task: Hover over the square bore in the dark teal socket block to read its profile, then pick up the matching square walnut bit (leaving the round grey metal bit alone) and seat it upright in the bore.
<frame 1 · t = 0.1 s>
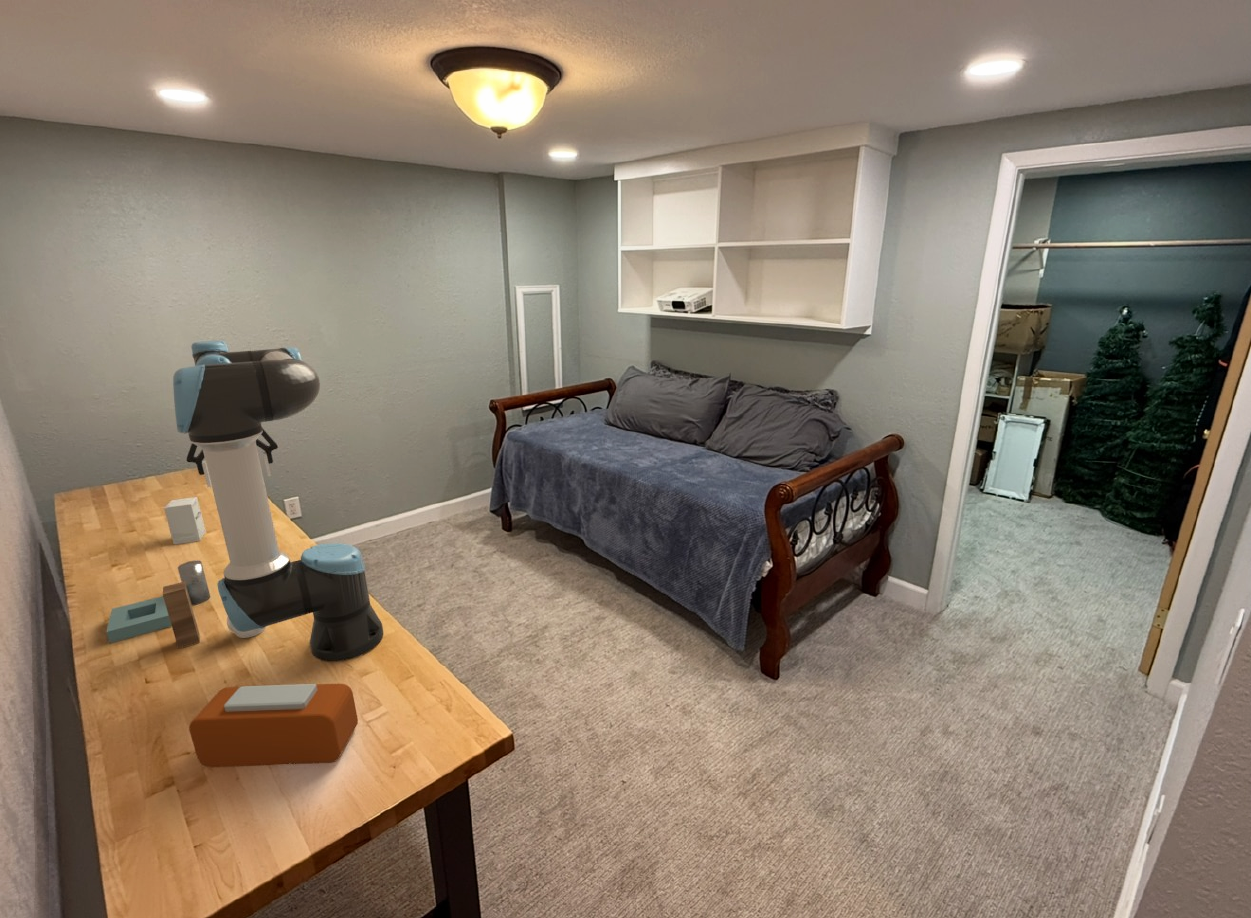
hand: (240, 480, 158), 28 cm above the table, fingers open, 13 cm apart
square bit: (189, 641, 136), on the table
supplement box: (190, 539, 190), on the table
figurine: (251, 632, 140), on the table
block with grey pad: (283, 748, 106), on the table
socket block: (144, 622, 144), on the table
round bit: (198, 599, 154), on the table
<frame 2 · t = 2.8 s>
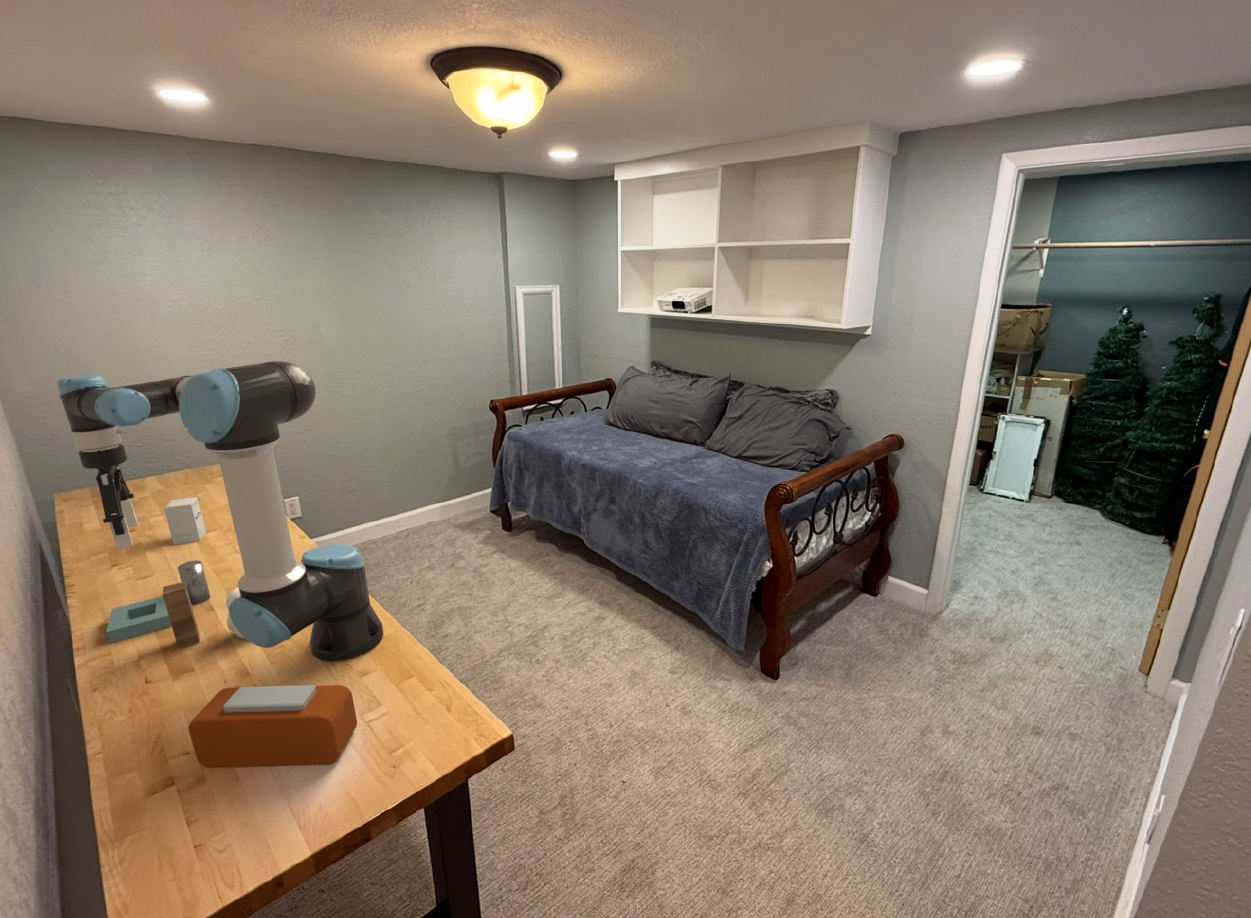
hand: (128, 536, 135), 24 cm above the table, fingers open, 13 cm apart
nothing on the table moved.
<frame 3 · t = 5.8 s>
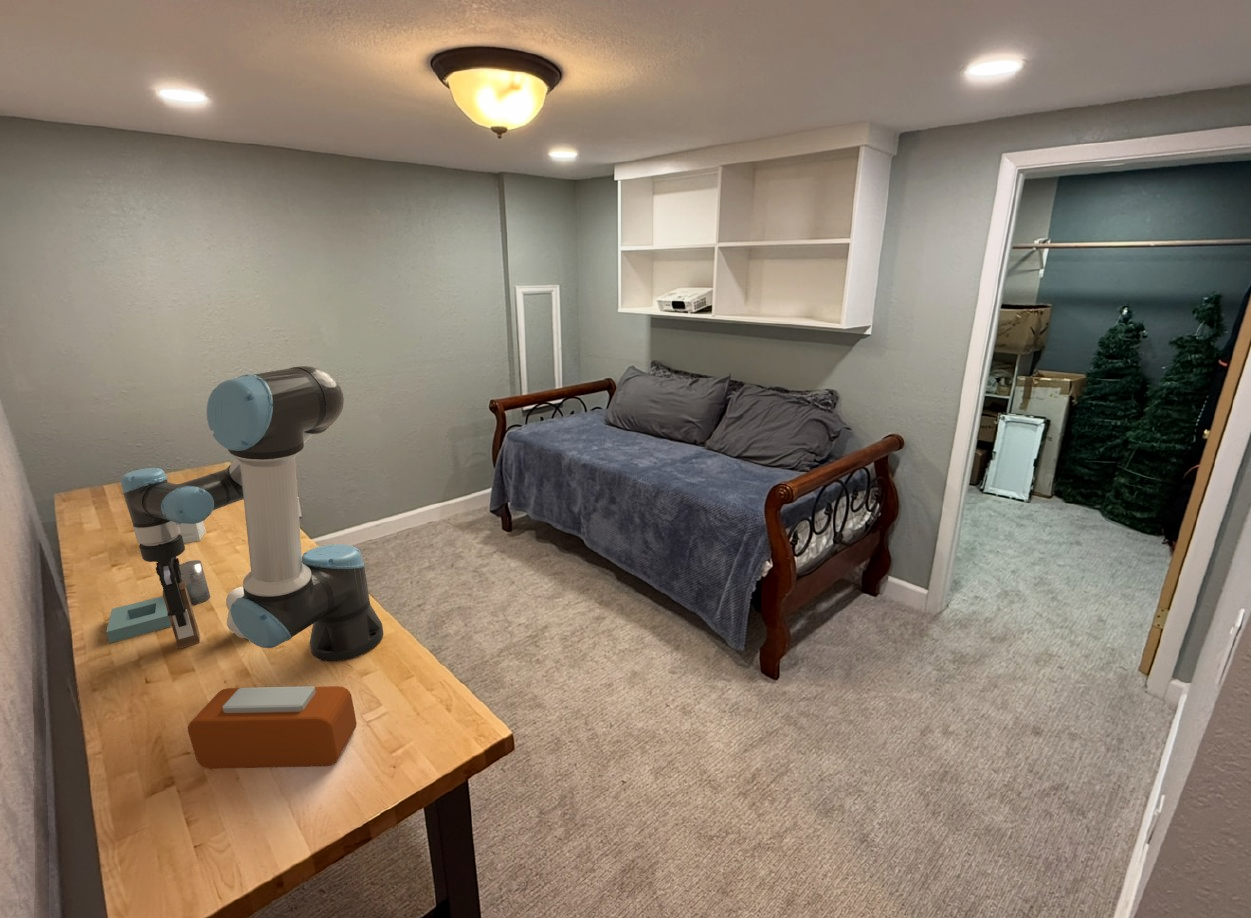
hand: (186, 631, 135), 3 cm above the table, fingers closed on square bit, 4 cm apart
square bit: (189, 641, 136), on the table, touching gripper
everything else where it was.
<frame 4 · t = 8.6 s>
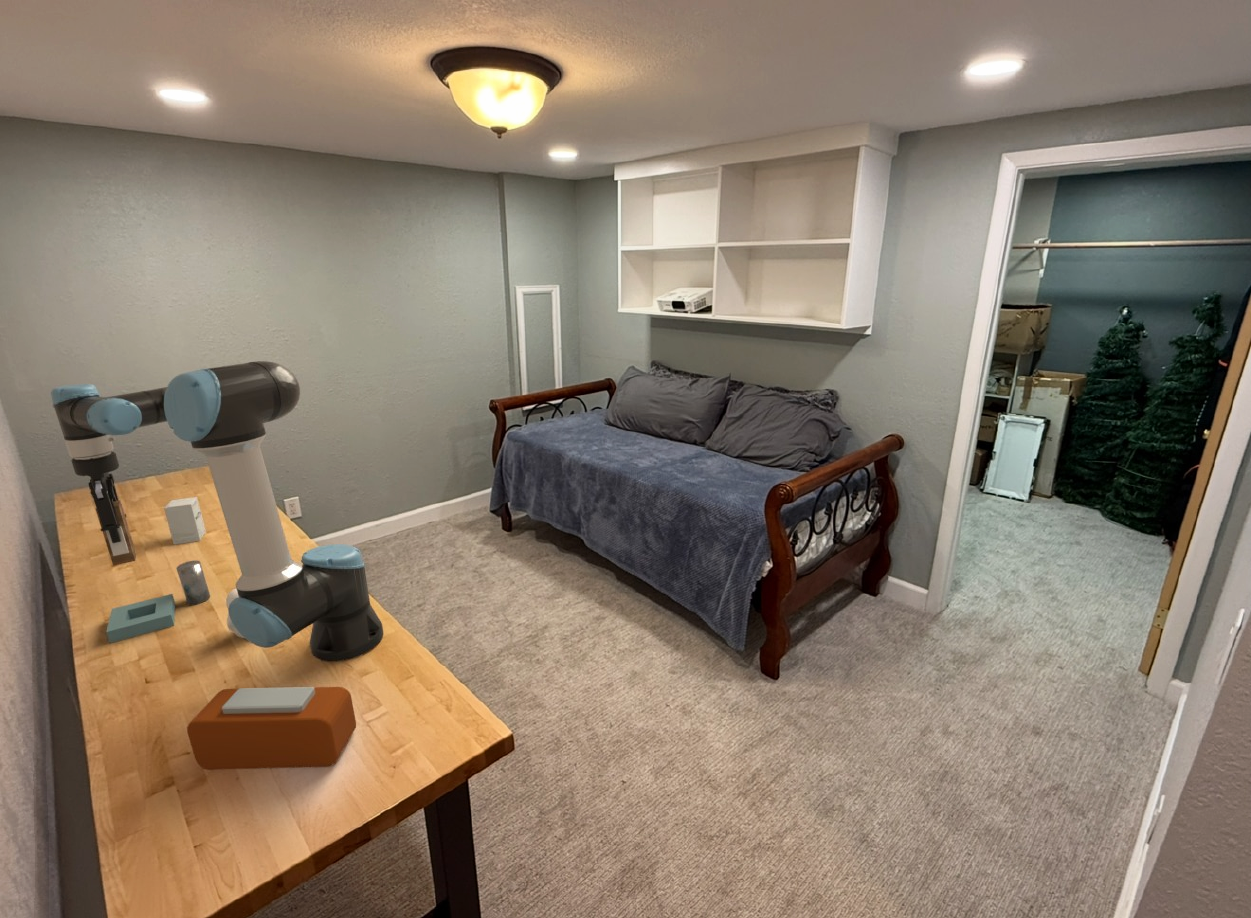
hand: (122, 549, 138), 20 cm above the table, fingers closed on square bit, 4 cm apart
square bit: (125, 559, 139), point 17 cm above the table, touching gripper
everything else where it was.
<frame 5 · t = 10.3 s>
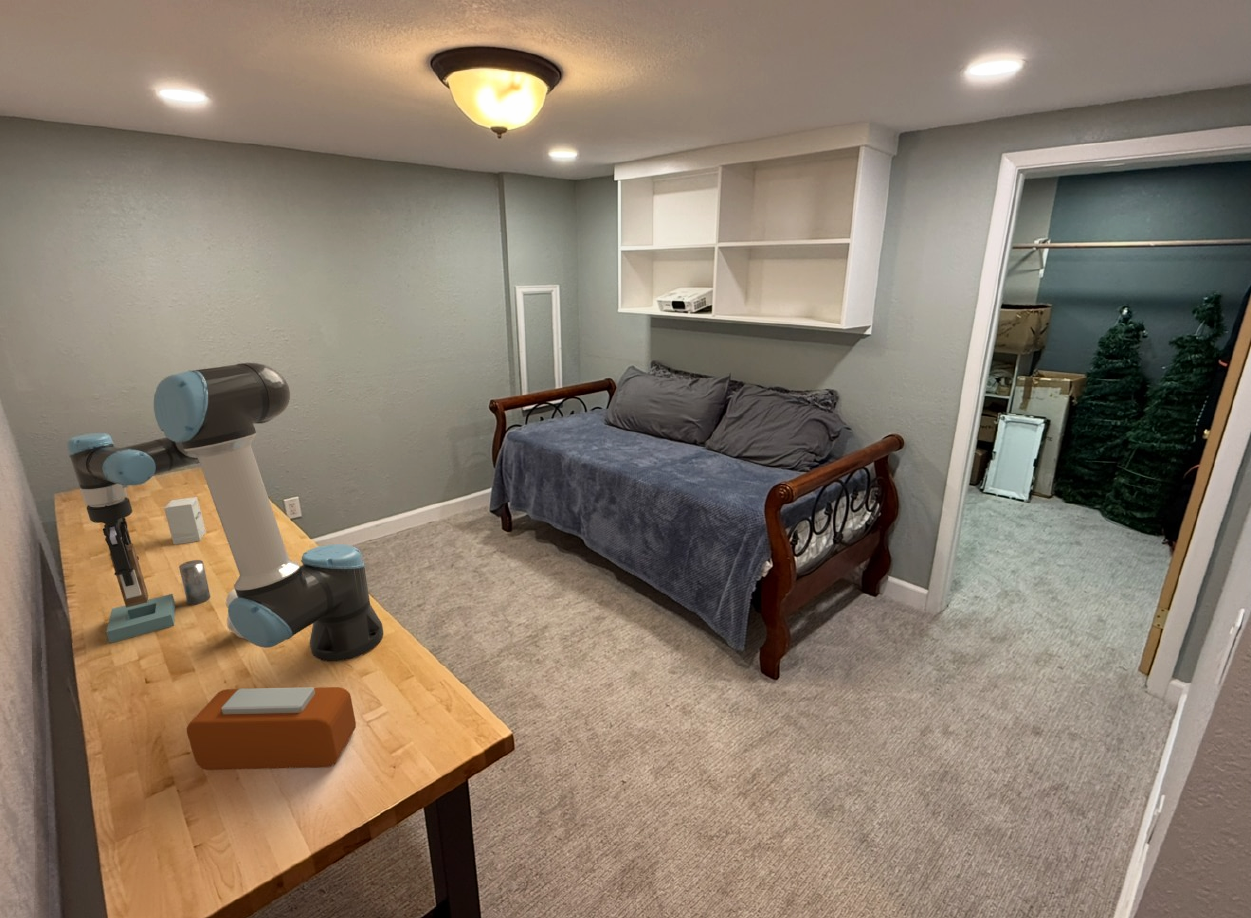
hand: (134, 591, 141), 8 cm above the table, fingers closed on square bit, 4 cm apart
square bit: (137, 601, 142), point 6 cm above the table, touching gripper
everything else where it was.
when the fingers open (4 cm above the table, at t = 11.5 s): square bit drops 1 cm, resting in socket block.
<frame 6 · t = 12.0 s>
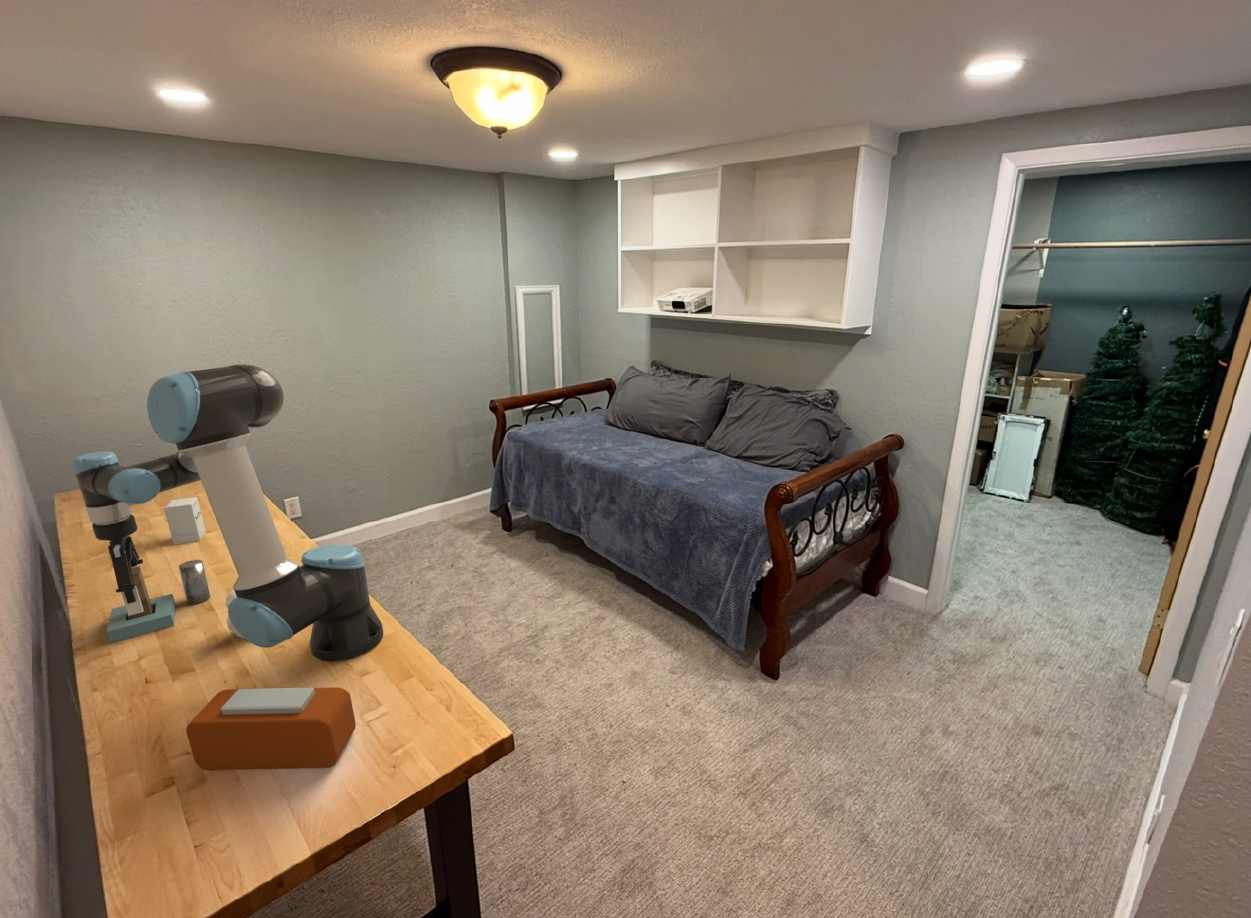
hand: (138, 601, 142), 6 cm above the table, fingers open, 12 cm apart
square bit: (144, 622, 144), resting in socket block
everything else where it was.
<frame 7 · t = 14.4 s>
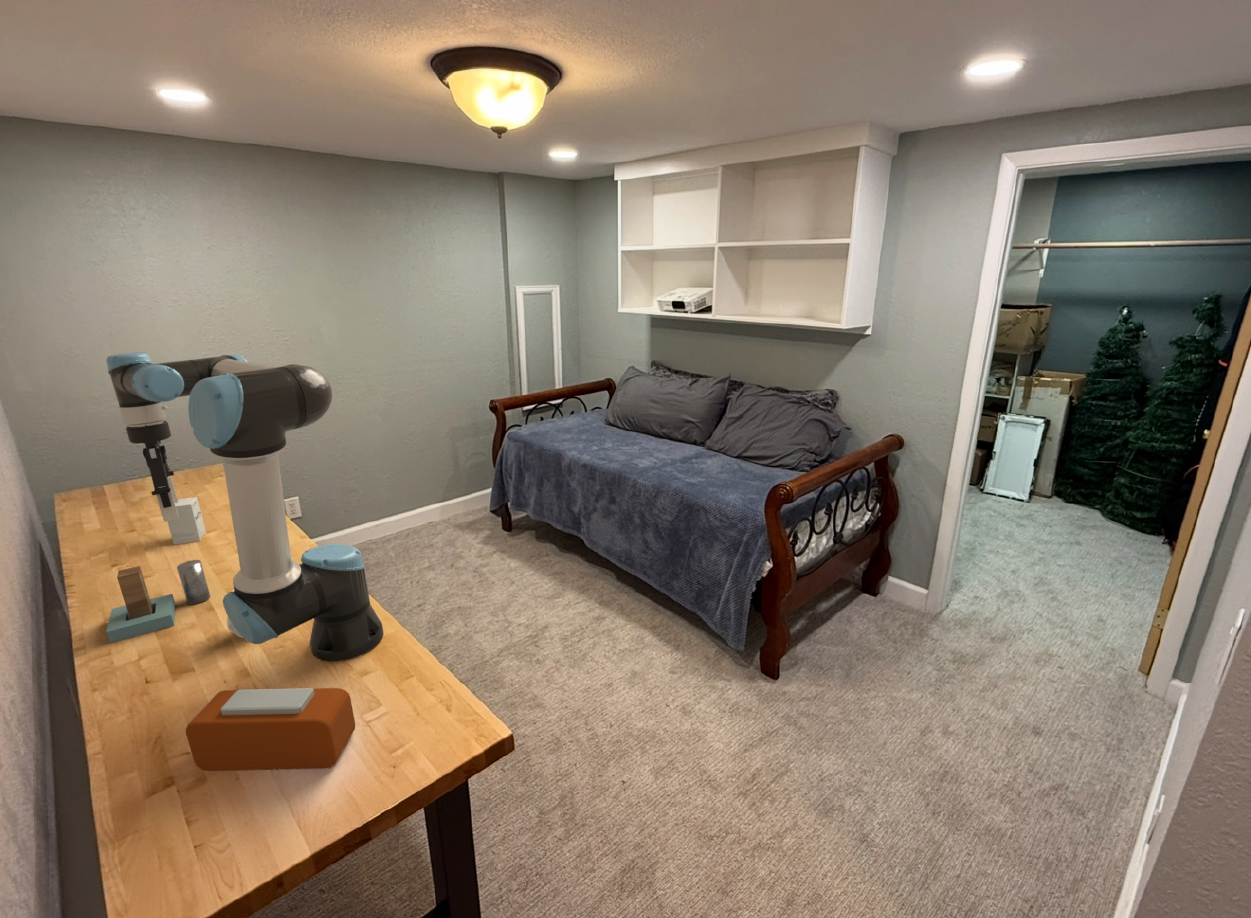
hand: (171, 511, 138), 28 cm above the table, fingers open, 13 cm apart
nothing on the table moved.
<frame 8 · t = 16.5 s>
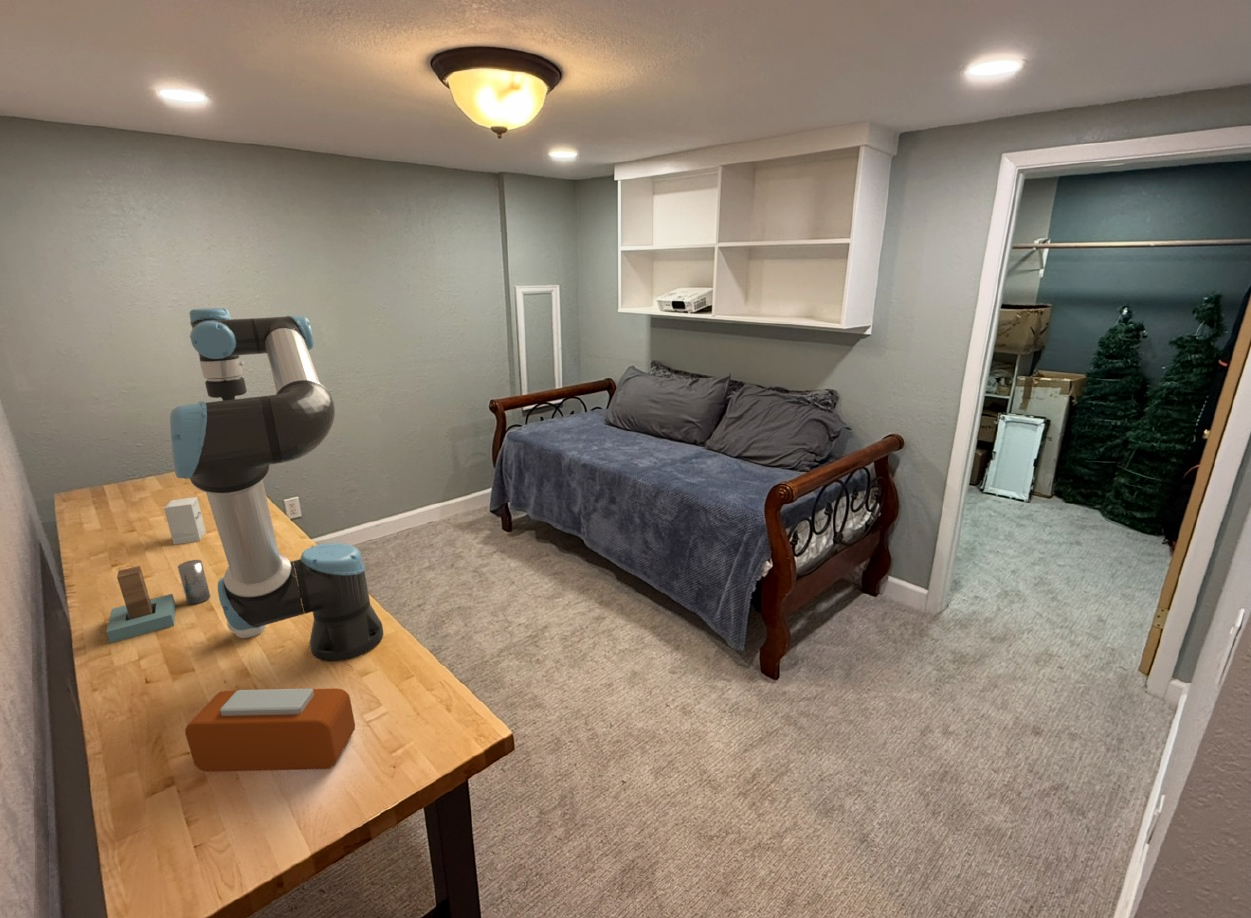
hand: (244, 466, 141), 37 cm above the table, fingers open, 13 cm apart
at the end: square bit 0.1 cm off-centre on the socket block, point 0.0 cm above the socket block's base; square bit tilted 0°; the gripper is holding nothing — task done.
